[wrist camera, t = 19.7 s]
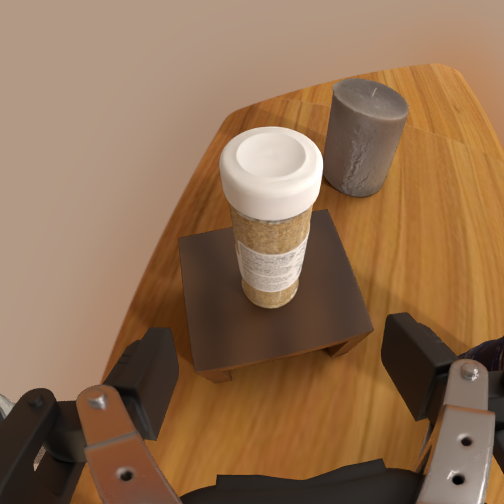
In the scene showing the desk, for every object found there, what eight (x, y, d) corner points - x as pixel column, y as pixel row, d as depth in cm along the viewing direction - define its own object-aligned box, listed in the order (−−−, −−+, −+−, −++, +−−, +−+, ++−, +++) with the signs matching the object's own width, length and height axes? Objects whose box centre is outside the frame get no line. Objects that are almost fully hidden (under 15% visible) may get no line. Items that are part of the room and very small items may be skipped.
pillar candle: (383, 160, 43) (408, 82, 30) (382, 205, 39) (416, 119, 26) (325, 146, 45) (337, 63, 32) (315, 188, 40) (329, 95, 28)
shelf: (214, 383, 28) (194, 372, 21) (198, 280, 34) (178, 237, 27) (346, 352, 29) (374, 330, 21) (315, 255, 35) (327, 208, 27)
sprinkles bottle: (257, 250, 26) (247, 114, 14) (307, 271, 24) (336, 138, 13) (231, 296, 24) (197, 172, 12) (284, 320, 22) (303, 208, 11)
